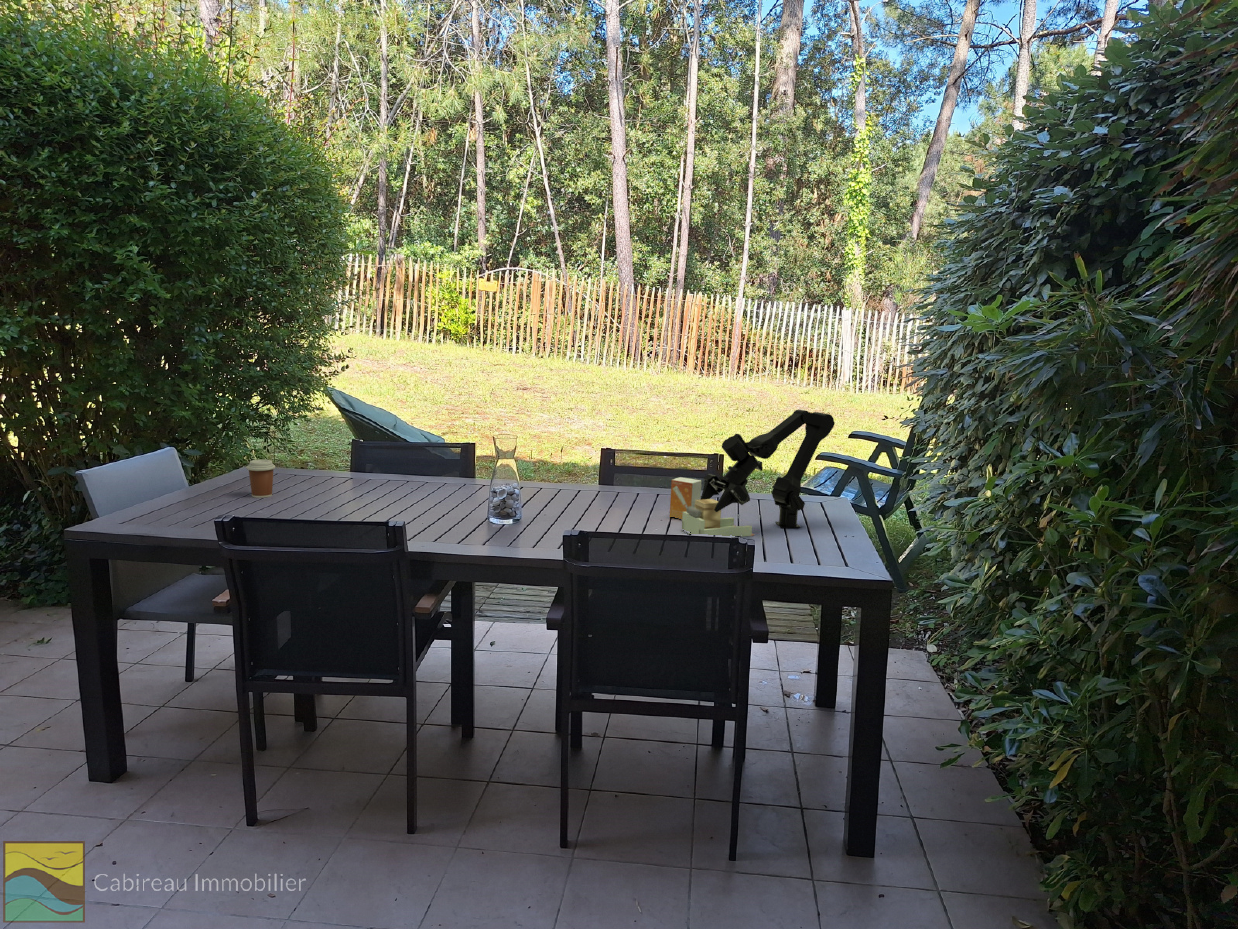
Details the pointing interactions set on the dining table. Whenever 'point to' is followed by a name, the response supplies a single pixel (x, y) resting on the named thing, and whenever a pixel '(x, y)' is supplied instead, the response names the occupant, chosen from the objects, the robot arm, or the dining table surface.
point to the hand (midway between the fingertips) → (707, 507)
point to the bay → (727, 528)
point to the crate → (709, 512)
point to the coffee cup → (261, 477)
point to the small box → (683, 495)
